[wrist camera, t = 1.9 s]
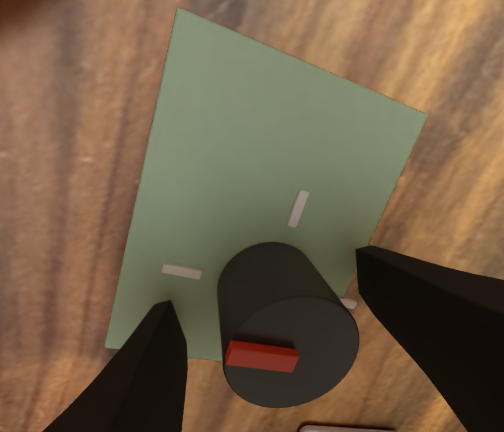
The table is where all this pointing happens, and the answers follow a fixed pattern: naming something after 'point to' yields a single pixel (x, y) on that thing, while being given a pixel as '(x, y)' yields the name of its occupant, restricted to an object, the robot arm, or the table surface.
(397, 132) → the panel
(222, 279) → the knob
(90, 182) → the table surface
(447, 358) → the robot arm
